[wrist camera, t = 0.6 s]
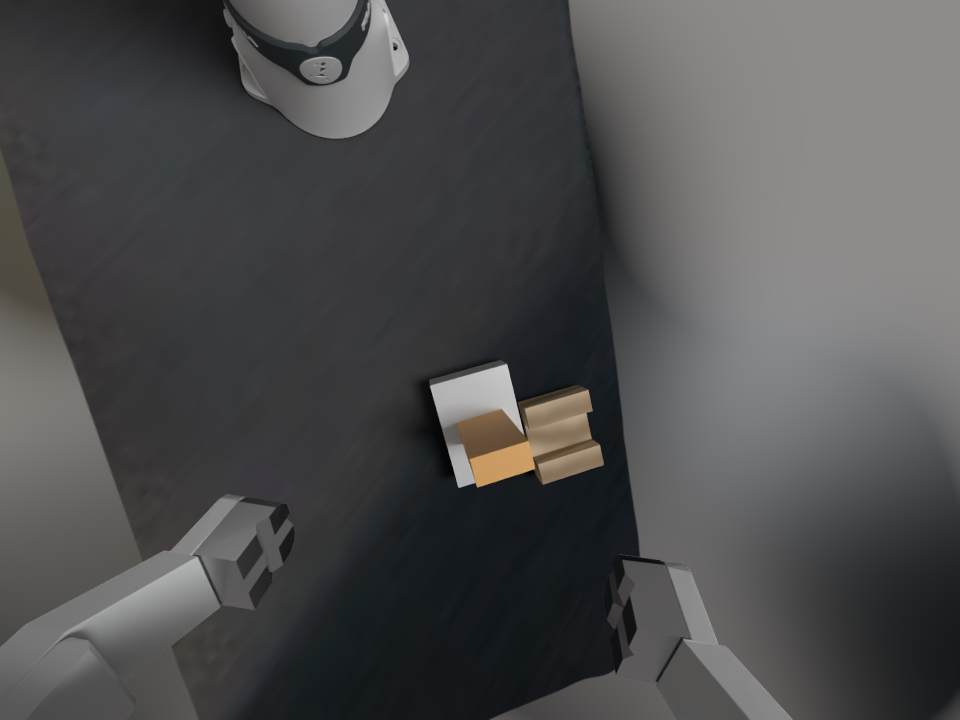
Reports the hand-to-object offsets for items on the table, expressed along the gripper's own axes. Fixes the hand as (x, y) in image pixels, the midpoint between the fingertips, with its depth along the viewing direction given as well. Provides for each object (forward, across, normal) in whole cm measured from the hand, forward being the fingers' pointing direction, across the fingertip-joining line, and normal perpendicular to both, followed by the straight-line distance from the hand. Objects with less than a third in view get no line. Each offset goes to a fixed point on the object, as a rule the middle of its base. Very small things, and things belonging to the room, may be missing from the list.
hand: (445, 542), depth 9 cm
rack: (+39, -8, +26) cm, 47 cm away
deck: (+36, +3, +24) cm, 44 cm away
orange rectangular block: (+33, +2, +22) cm, 40 cm away
